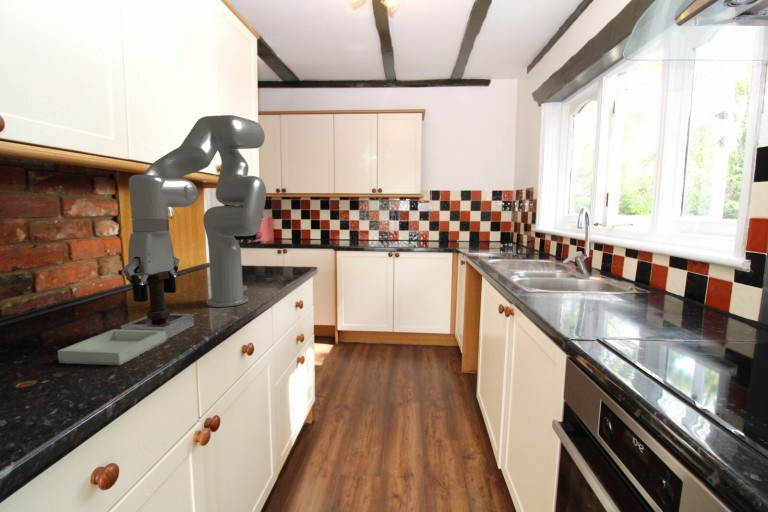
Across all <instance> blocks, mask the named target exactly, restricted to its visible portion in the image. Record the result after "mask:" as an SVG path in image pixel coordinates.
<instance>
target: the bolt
mask: <svg viewBox="0 0 768 512" xmlns="http://www.w3.org/2000/svg"><path fill="white" fill-rule="evenodd" d="M166 278H169V273H168V272H167V271H166V272H162V273H158V274H155V275H149V276H148V278H147V280H146V282H147V287H148V298H149V307H150V308H149V309H150V310H148V311H147V312H146V316H147V318H148V319H149V320H151V321H152V325H164V324H166V321H167V320H166V318H167V317H169V316H170V309H169V308H166V299H165V298H166V297H165V296H166V295H165V293H164V279H166Z"/></svg>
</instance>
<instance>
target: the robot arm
mask: <svg viewBox="0 0 768 512" xmlns="http://www.w3.org/2000/svg"><path fill="white" fill-rule="evenodd" d="M265 138H266V137H265V131H264V129H263V127H262V126H261V125H260V123H258V122H257V121H255V120H251V119H248V118H245V117H241V116H238V115H232V114H227V115H225V114H224V115H223V114H221V115H207V116H202V117H200V118H199V119H197V121H196V122H195V124H194V125H193V127H192V128H191V129H190V131H189V132H188V134H187V135H186V137H185V138H184V140H183V141H182V143H181V144H180V145H179V146H178V147H177V148H175V149H173V150H171V151H169V152H168V153H166V154H165V155H163V156H161V157H160V158H158V159H157V160H155V161H154V162H153V163H151V164H150V165H149V166H148V168H147V169H146V170H145V172H144V173H143V174H134V175H131V176H130V177H129V178H128V189H129V190H128V193H129V203H130V216H131V228H132V229H131V231H132V233H130V234H129V235H130V236H129V239H128V253H127V254H128V255H127V256H128V257H127V258H128V261H127V262H128V263H127V264H126V265H124V266H123V268H122V272H123V273H124V275H125V278H126V280H127V281H128V282H129V285H130V286H132V298H133V302H135V303H136V302H139V303H142V302H143V303H145V302H148V301H149V290H148V283H147V284H145V283H146V282H147V281H146V280H147V278H148V276H149V275H155V274H158V273H162V272H166V271H167V272H168V273H169V278H166V279H164V294H165V293H167V294H169V293H170V294H175V293H176V292H177V286H176V285H177V284H176V277H177V272H178V270H179V263H180V259H179V258H178V257H176V256H175V254H174V253H175V251H174V247H173V242H172V236H171V233H170V232H171V231H170V220H169V219H170V218H169V208H186V207H189V206H191V205H193V204H195V203H196V201H197V200H198V198H199V197H198V196H199V191H198V188H197V186H196V185H195V184H194V182H192V180H189V179H187V178H184V177H185V176H188V175H192V174H194V173H197V172H199V171H203V170H204V169H206V168H208V167H209V166H210V165H211V163H212V161H213V159H214V157H215V156H216V154H217V152H218V153H219V156H220V160H221V161H220V162H221V166H220V170H219V171H220V172H219V174H218V178H217V179H218V180H217V183H216V187H215V198H216V200H217V202H219V203H220V204H222V205H215V206H212V207H210V208H208V209H207V210H206V211H205V213H204V214H203V217H202V218H203V221H202V222H203V227H204V230H205V234H206V238H207V239H206V240H207V244H208V257H209V258H208V260H209V261H208V262H209V274H210V277H209V278H210V289H211V292H210V293H211V297H210V298H208V299H207V300H206V305H207V306H208V307H213V308H214V307H215V308H216V307H217V308H225V307H232V306H233V307H234V306H239V305H242V304H247V302H248V301H249V296H247V295H244V292H246V291H247V290H248V286H246V285H243V269H242V265H243V264H242V250H241V246H240V243H239V242H238V240H237V239H236V237H250V236H255V235H256V234H257V233H259V231H260V229H261V225H262V222H263V216H264V211H265V205H266V201H267V200H266V199H267V190H266V189H267V188H266V184H265V183H264V181H263V179H261V178H260V177H259V176H255V175H248V174H249V164H248V162H247V160H246V158H245V157H244V156H243V155H242V154H241V152H240V151H239V150H249V149H250V150H251V149H258V148H261V147H262V146H263V144H264V142H265V140H266V139H265Z"/></svg>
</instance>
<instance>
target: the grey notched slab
mask: <svg viewBox="0 0 768 512" xmlns="http://www.w3.org/2000/svg"><path fill="white" fill-rule="evenodd" d="M166 320H167V321H166V324H164V325H152V321H151V320H149V319H148V318H147V315H146V316H144V317H140V318H138V319H135V320H133V321H130V322H127V323H125V324H122V325H120V330H150V331H165V333H166V340H169V338H172V337H174V336H176V335H177V334H179V333H181V332H183V331H186V330H187V329H189V328H191V327H194V326H195V318H194V314H193V313H173V312H172V313H170V316H169V317H167V318H166Z"/></svg>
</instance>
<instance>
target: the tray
mask: <svg viewBox="0 0 768 512" xmlns="http://www.w3.org/2000/svg"><path fill="white" fill-rule="evenodd" d="M166 342H167V339H166V333H165V331H150V330H121V329H114V328H113V329H110V330H108V331H106V332H102V333H100V334H98V335H95V336H91V337H89V338H87V339H84V340H82V341H79V342H76V343H74V344H72V345H69V346H67V347H63V348H61V349H59V350H57V358H58V363H59V364H75V365H76V364H81V365H102V366H103V365H105V366H106V365H107V366H122V365H123V364H126V363H127V362H129V361H131V360H132V359H135V358H137V357H139V356H141V355H142V353H143V354H144V352H145V353H146V351H147V352H148V351H150V350H153V349H154V348H156V347H158V346H160V345H162V344H164V343H166ZM140 354H141V355H140Z"/></svg>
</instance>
